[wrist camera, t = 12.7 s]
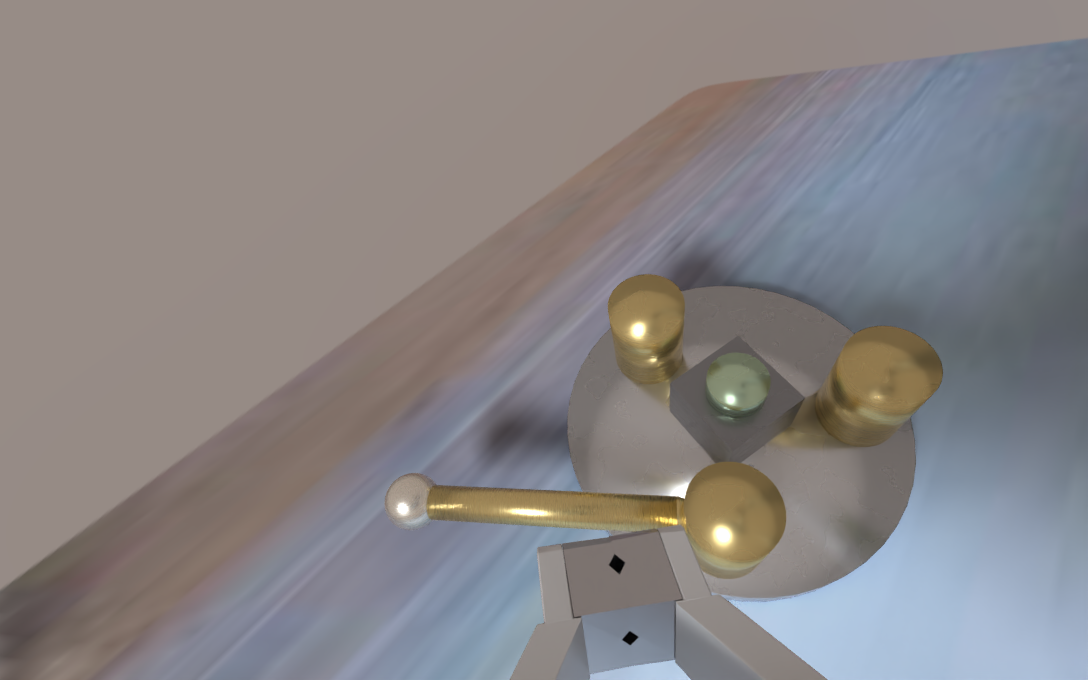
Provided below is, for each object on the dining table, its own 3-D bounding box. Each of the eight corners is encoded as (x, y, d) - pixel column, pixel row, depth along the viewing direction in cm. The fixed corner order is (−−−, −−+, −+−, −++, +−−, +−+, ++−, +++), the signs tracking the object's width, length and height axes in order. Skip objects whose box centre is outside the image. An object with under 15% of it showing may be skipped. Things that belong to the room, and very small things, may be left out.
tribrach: (735, 258, 41) (748, 179, 35) (983, 462, 31) (1072, 406, 24) (518, 403, 39) (486, 348, 32) (711, 684, 28) (724, 689, 21)
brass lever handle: (760, 497, 30) (780, 463, 25) (769, 582, 28) (792, 564, 23) (424, 481, 34) (383, 450, 29) (409, 555, 32) (362, 534, 27)
